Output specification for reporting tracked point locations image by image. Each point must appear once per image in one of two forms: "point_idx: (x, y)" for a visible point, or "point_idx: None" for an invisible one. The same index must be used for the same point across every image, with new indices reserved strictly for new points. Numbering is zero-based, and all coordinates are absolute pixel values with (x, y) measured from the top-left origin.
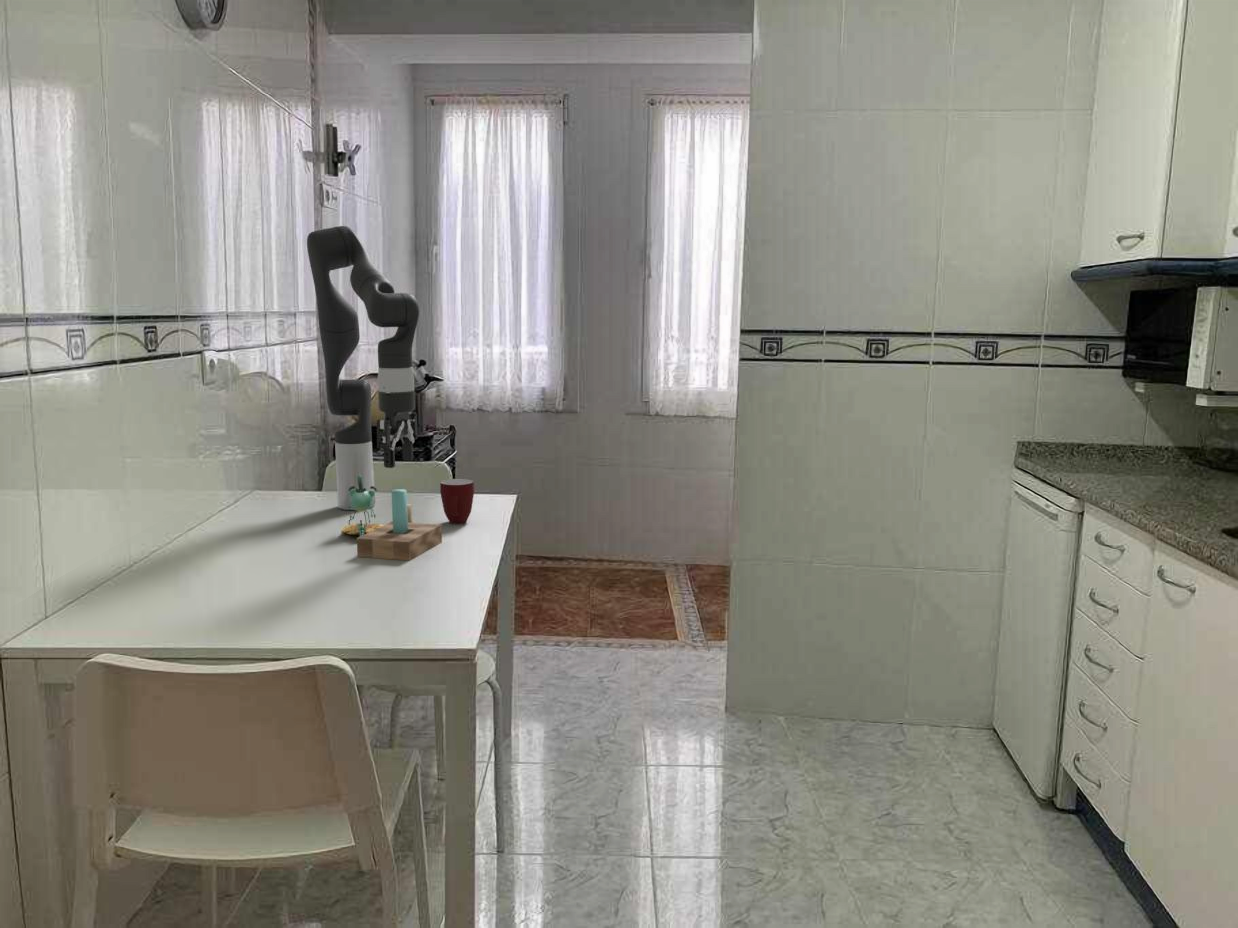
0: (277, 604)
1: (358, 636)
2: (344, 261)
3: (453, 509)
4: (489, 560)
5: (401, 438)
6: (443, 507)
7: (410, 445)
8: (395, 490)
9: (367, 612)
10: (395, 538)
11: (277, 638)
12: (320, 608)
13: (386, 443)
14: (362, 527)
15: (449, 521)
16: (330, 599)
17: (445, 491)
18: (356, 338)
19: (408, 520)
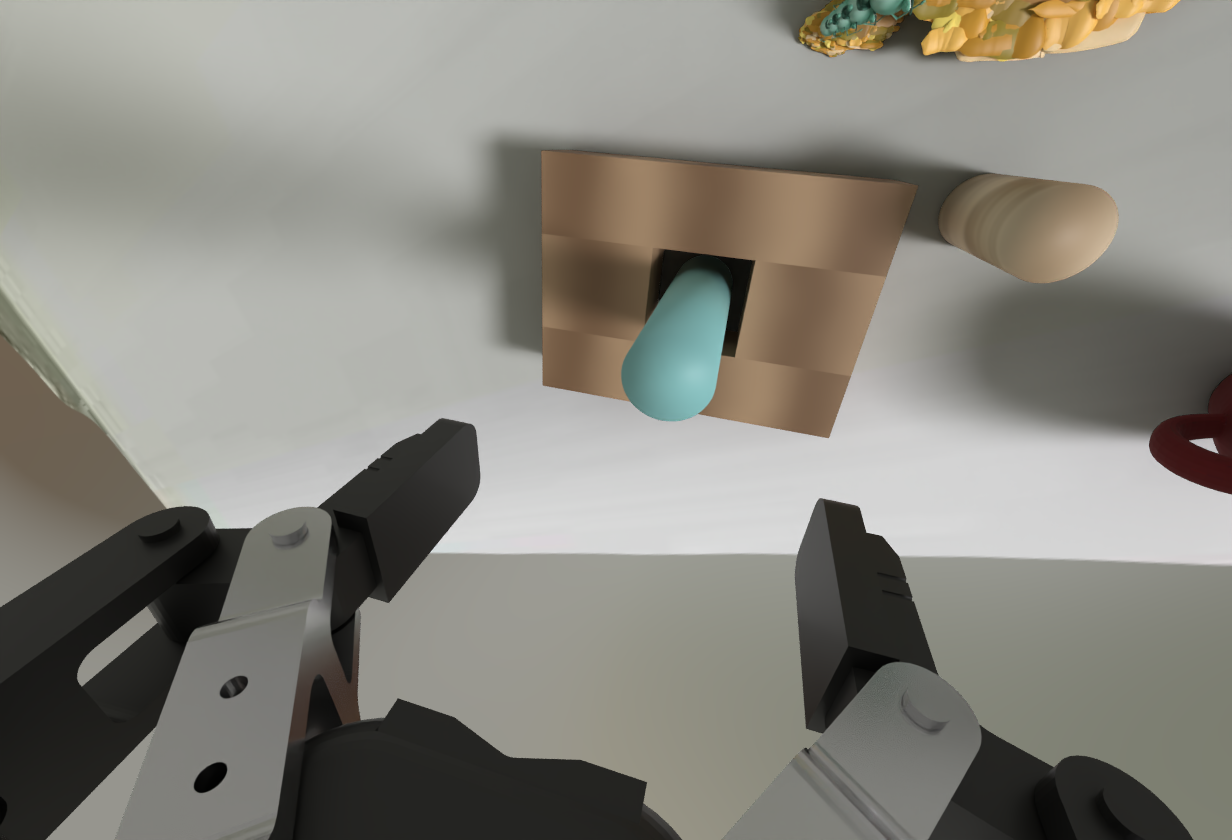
0: (108, 149)
1: (125, 406)
2: None
3: (1154, 448)
4: (616, 551)
5: (831, 731)
6: None
7: (805, 705)
8: (671, 355)
9: (205, 384)
10: (576, 324)
11: (21, 271)
12: (160, 277)
13: (152, 639)
14: (875, 1)
15: None
16: (209, 272)
17: None
18: None
19: (976, 255)
